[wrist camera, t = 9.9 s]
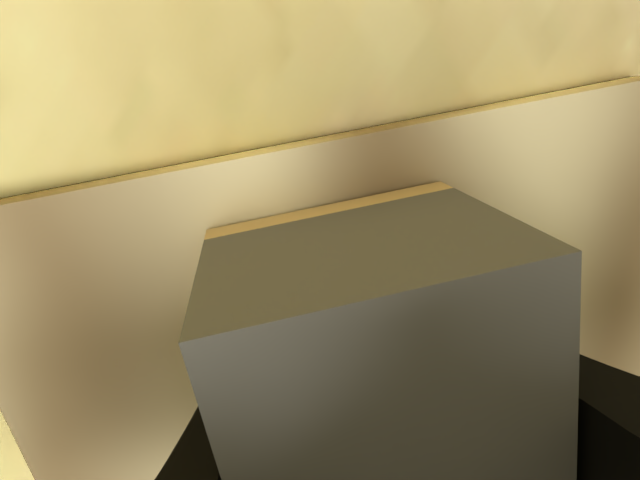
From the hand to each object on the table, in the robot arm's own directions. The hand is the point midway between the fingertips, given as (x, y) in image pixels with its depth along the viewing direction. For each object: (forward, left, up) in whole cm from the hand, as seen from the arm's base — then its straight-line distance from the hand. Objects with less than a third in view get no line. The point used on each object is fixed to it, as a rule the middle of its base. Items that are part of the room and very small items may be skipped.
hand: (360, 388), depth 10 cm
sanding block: (0, 0, 0) cm, 0 cm away
